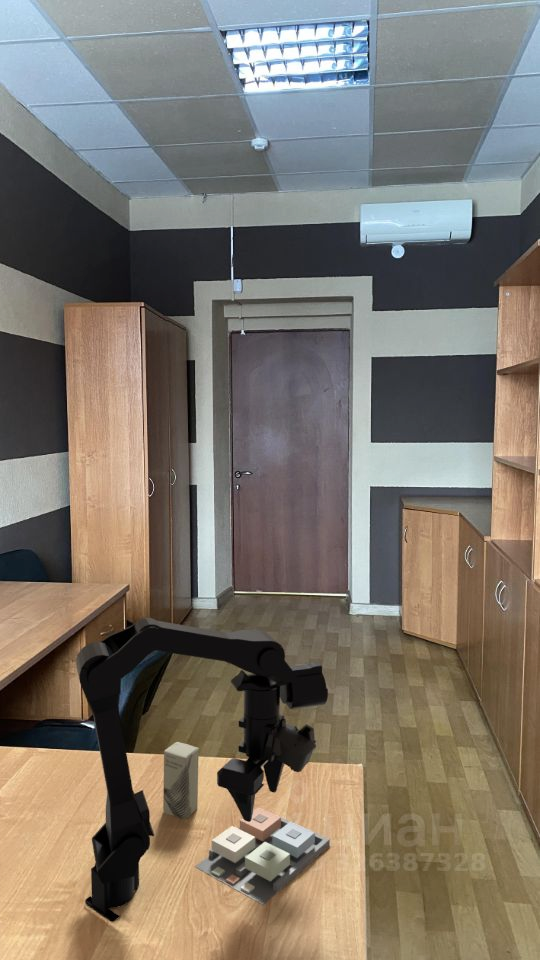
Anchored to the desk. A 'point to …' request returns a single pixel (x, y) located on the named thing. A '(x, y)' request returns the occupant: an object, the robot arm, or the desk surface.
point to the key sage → (267, 861)
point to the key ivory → (233, 844)
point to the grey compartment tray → (252, 882)
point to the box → (180, 780)
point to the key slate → (293, 839)
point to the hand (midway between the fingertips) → (260, 805)
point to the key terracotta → (261, 824)
